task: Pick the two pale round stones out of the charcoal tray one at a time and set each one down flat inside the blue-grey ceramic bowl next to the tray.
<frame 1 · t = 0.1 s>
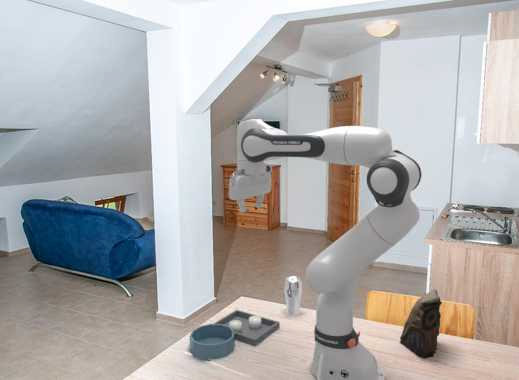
hand: (251, 209, 142), 48 cm above the table, tool pointing down, fingers open, 8 cm apart
stone a: (255, 326, 160), point 1 cm above the table, touching tray
tray: (245, 331, 158), on the table
stone b: (235, 331, 156), point 1 cm above the table, touching tray
owl: (419, 347, 146), on the table
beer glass: (293, 314, 172), on the table
bowl: (212, 349, 146), on the table
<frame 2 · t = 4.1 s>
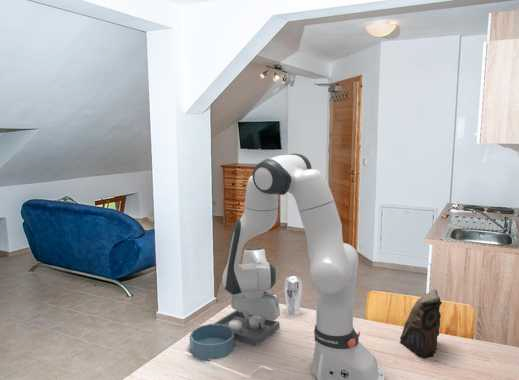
hand: (255, 324, 160), 2 cm above the table, tool pointing down, fingers closed on stone a, 5 cm apart
stone a: (255, 326, 160), point 1 cm above the table, touching gripper, tray
everything else where it was.
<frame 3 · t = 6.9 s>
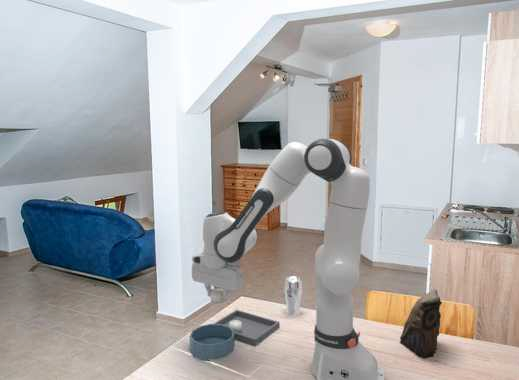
hand: (217, 298, 146), 17 cm above the table, tool pointing down, fingers closed on stone a, 5 cm apart
stone a: (217, 300, 146), point 16 cm above the table, touching gripper
everything else where it was.
when the fingers open (4 cm above the table, at t = 9.9 s): stone a drops 2 cm, resting on bowl.
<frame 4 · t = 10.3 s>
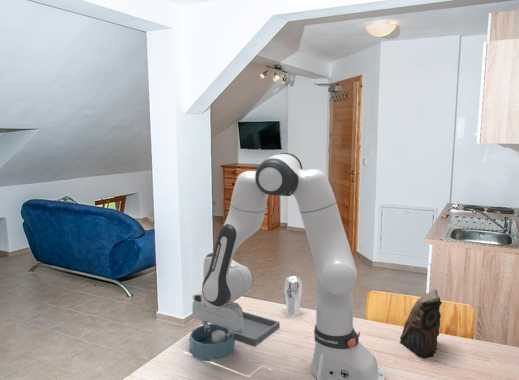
hand: (218, 335, 148), 4 cm above the table, tool pointing down, fingers open, 8 cm apart
stone a: (218, 342, 148), point 1 cm above the table, touching bowl
everything else where it was.
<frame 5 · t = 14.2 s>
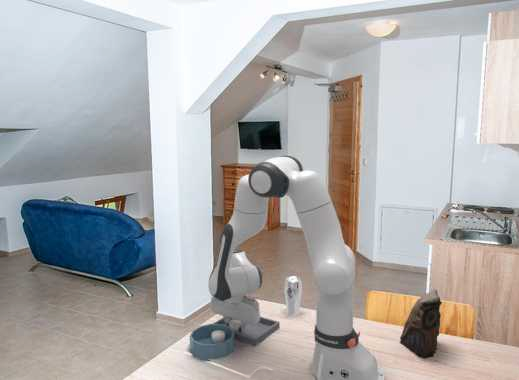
hand: (235, 329, 156), 2 cm above the table, tool pointing down, fingers closed on stone b, 5 cm apart
stone b: (235, 331, 156), point 1 cm above the table, touching gripper, tray
everything else where it was.
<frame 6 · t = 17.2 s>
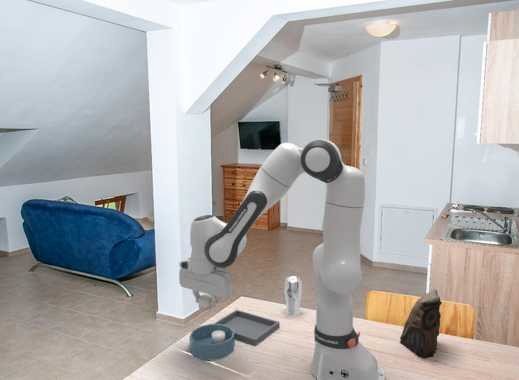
hand: (205, 304, 141), 17 cm above the table, tool pointing down, fingers closed on stone b, 5 cm apart
stone b: (205, 307, 141), point 16 cm above the table, touching gripper
everything else where it was.
when the fingers open (4 cm above the table, at t = 20.1 s): stone b drops 2 cm, resting on bowl.
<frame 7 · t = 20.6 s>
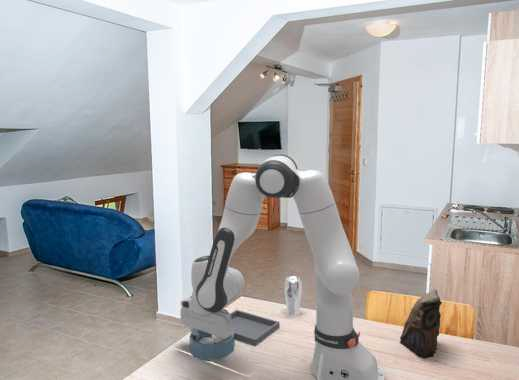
hand: (206, 342, 143), 4 cm above the table, tool pointing down, fingers open, 8 cm apart
stone b: (207, 350, 143), point 1 cm above the table, touching bowl
everything else where it was.
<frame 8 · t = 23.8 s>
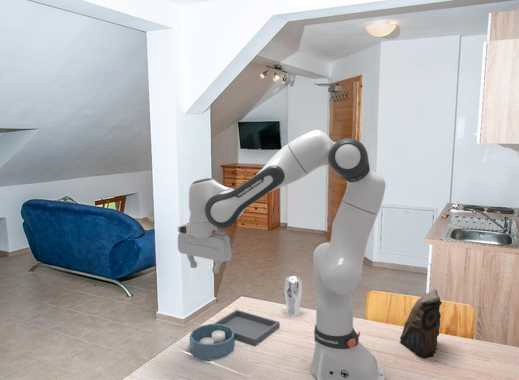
hand: (204, 270, 139), 29 cm above the table, tool pointing down, fingers open, 8 cm apart
nothing on the table moved.
at the end: stone a inside the target area on the bowl (3.0 cm from its centre), point 1.0 cm above the bowl's base; stone b inside the target area on the bowl (3.0 cm from its centre), point 1.0 cm above the bowl's base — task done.
